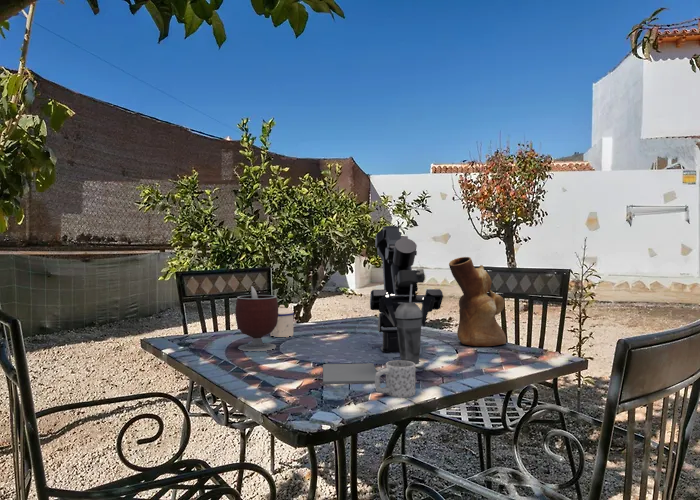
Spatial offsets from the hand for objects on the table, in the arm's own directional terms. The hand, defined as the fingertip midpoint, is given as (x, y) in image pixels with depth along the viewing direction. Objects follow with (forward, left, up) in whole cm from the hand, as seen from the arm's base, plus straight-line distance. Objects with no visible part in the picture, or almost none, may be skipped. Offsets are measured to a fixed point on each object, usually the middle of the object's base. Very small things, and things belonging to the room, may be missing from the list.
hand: (409, 325), depth 122 cm
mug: (+13, -6, -14) cm, 19 cm away
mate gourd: (-41, -44, -13) cm, 62 cm away
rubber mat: (-5, -15, -13) cm, 21 cm away
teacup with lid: (-62, -38, -13) cm, 74 cm away
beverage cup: (-1, 0, -10) cm, 10 cm away
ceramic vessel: (-42, +30, -13) cm, 54 cm away
